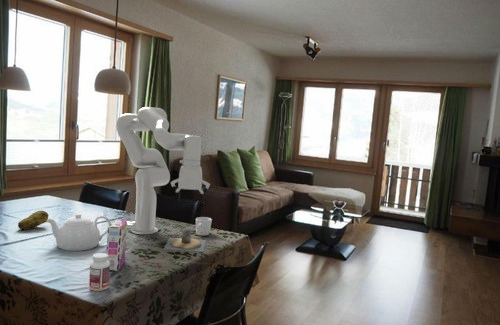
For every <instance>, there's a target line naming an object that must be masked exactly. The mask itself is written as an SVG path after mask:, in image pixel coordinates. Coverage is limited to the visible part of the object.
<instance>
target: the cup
mask: <svg viewBox="0 0 500 325" xmlns="http://www.w3.org/2000/svg"><path fill="white" fill-rule="evenodd" d="M212 221H213V219H212V218H211V217H207V216H200V217H196V218H195V233H196V235H199V236H208V235H210V232H211V227H212Z"/></svg>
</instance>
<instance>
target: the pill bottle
mask: <svg viewBox="0 0 500 325" xmlns="http://www.w3.org/2000/svg"><path fill="white" fill-rule="evenodd" d="M106 253H107V252H106ZM106 253H105V252H97V253H93V255H92V261H91V262H90V264H89V282H88V284H89V286H88V287H89V289H90V290H91V291H95V292H101V291H105V290H108V288H109V287H110V274H111V271H110V262H109V261H108V260H107V259H108V254H106Z"/></svg>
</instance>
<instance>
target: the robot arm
mask: <svg viewBox="0 0 500 325" xmlns="http://www.w3.org/2000/svg"><path fill="white" fill-rule="evenodd" d="M169 127H170V122H169V121H168V114H167V113H166V111H165V109H163V108H161V107H153V106H152V107H151V106H145V107H142V108H140V109H139V110H138V111H137V113H124V114H120V116H119V117H118V118H117V120H116V131H117V134H118V137H119V139H120V140H121V142H122V143H123V145H124V147H125V150H126V152H127V155H128V157H129V159H130V162H131V164H132V165H133V167H135V168H140V169H138V170H137V171H136V173H135V175H134V178H135V179H134V180H135V186H136V188H135V190H136V192H135V193H136V194H135V196H136V198H135V201H136V202H135V212H134V213H135V214H134V216H135V217H134V221H127V228H128V227H129V228H131V230H130V232H131V233H133V234H136V235H141V236H142V235H151V234H156V233H158V231H159V230H158V229H159V228H157V227H156V211H157V193H156V190H155V189H154V187H161V186H166V185H167V184H169V182H170V185H171V187H172V189H173V190H174V191H175V199H176V201H177V203H179V202H180V200H181V192H180V191H181V190H189V191H190V190H193V191H198V192H200V193H199V198H198V201H199V204H201V203H202V202H203V201H204V200H203V199H204V194H205V193H206V192H207V191H208V189H209V188H210V186H211V183H209V182H208V181H205V180H203V169H202V166H201V154H202V137H201V136H199V135H192V134H188V133H187V134H186V133H175V132H174V133H171V132H170V131H168V130H169ZM149 131H151V132H153V136H154V137H153V138H154V140H155V142H156V143H158V145H160V146H161V147H162V148H163V149H165V150H167V151H183V156H182V159H179V164H182V165H181V166H180V168H179V174H178V178H176V179H174V180H172V181H170V180H171V174H170V170H169V169H168V165H167V164H166V161H165V159H164V157H163V155H162V153H161V151H159V150H158V149H157V148H154V147H153V148H152V147H151V148H150V147H149V148H147V147H145V145H144V143H143V141H142V139H141V137H140V136H139V135H138V134H136V132H149ZM176 183H177V184H178V186H176V185H175V184H176ZM203 185H205V187H204V188H203V187H202V186H203Z"/></svg>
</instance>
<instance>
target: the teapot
mask: <svg viewBox="0 0 500 325" xmlns="http://www.w3.org/2000/svg"><path fill="white" fill-rule="evenodd" d="M99 219H105V220H106V222H107V224H108V227H109V226H110V225H111V224H112V223H111V220H110V218H109V217H108V216H105V215H102V214H101V215H98V216H97V217H96V218H94V219H92V218H89V217H86V216H83V215H82V213H76V214H75V215H74V216H71V217H68V218H67V219H65V220H64V222H63V223H61V225H58V223H57V221H56V220H55V219H54V218H52V217H51V218H48V220H47V221H46V222H45V223H49V224H50V225H51V231H52V234H53V236H54V238H55V242H56V246H57V247H58V248H59V249H61V250H64V251H67V252H68V251H69V252H80V251H86V250H92V249H94V248H96V247H97V246H98V245H99V243H100V242H102V239H103V237H104V236H105V235H107V234H108V228H107V229H106V230H105V231H104V232H103V233H101V234H100V229H99V228H98V223H97V222H98V220H99Z"/></svg>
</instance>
